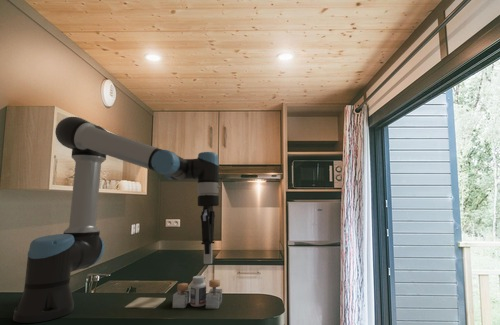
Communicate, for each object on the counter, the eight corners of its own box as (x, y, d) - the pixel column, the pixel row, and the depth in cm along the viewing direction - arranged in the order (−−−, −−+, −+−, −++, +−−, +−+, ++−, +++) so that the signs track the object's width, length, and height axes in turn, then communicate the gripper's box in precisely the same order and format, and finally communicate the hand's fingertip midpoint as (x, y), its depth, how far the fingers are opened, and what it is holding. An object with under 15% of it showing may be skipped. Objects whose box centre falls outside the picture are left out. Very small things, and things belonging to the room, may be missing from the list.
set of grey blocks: (172, 307, 93) (173, 294, 94) (180, 300, 101) (180, 288, 102) (217, 308, 92) (218, 295, 93) (221, 301, 100) (222, 288, 101)
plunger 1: (175, 301, 95) (176, 285, 96) (178, 298, 99) (179, 283, 100) (186, 301, 95) (186, 285, 96) (188, 298, 99) (189, 283, 100)
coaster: (125, 307, 93) (125, 306, 93) (138, 298, 103) (138, 297, 103) (154, 308, 92) (154, 307, 92) (165, 299, 102) (165, 297, 102)
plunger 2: (207, 297, 95) (208, 282, 96) (210, 294, 98) (210, 279, 99) (218, 298, 95) (218, 282, 95) (220, 295, 98) (220, 279, 99)
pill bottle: (206, 301, 99) (207, 275, 101) (205, 306, 94) (205, 278, 95) (191, 302, 99) (192, 275, 100) (188, 307, 94) (189, 278, 95)
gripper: (215, 193, 96) (215, 267, 92) (221, 195, 109) (221, 260, 105) (193, 194, 96) (192, 267, 92) (202, 196, 109) (201, 260, 105)
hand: (208, 263), depth 98 cm, fingers closed
